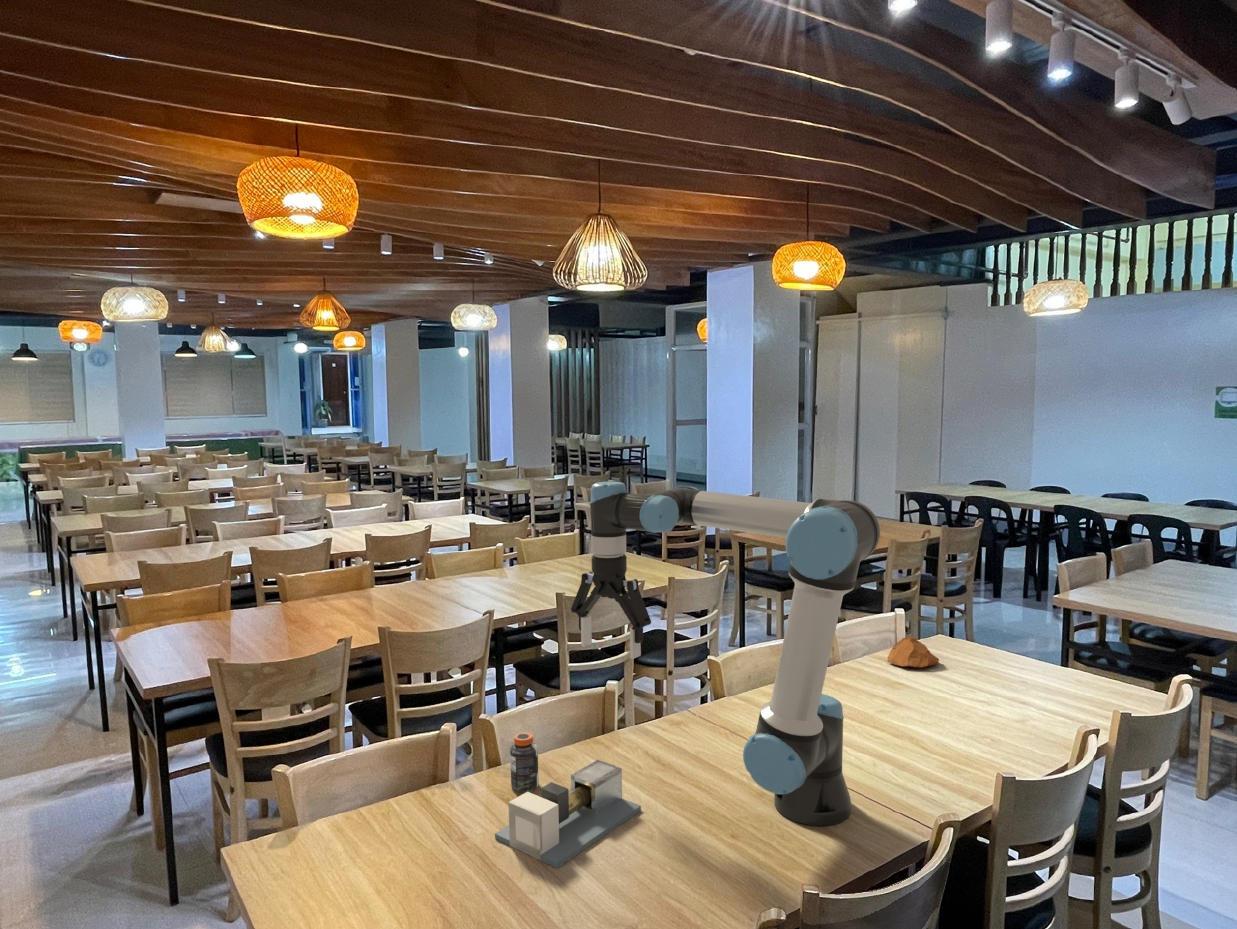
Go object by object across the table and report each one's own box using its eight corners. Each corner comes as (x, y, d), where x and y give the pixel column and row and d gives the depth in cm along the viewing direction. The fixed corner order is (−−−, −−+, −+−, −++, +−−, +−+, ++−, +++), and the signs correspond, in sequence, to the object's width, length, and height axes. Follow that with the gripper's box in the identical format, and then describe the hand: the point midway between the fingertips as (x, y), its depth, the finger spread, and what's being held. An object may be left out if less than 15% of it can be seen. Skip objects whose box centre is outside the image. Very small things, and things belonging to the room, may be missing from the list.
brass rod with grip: (597, 803, 161) (596, 772, 160) (545, 836, 149) (544, 802, 149) (580, 797, 164) (580, 766, 163) (528, 829, 152) (527, 795, 151)
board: (640, 810, 163) (640, 805, 163) (556, 868, 143) (556, 863, 143) (581, 787, 173) (581, 782, 173) (495, 838, 153) (494, 833, 153)
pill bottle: (543, 782, 175) (542, 732, 174) (531, 795, 170) (530, 743, 169) (518, 778, 177) (517, 728, 176) (506, 791, 172) (504, 739, 171)
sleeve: (622, 798, 166) (621, 768, 165) (595, 815, 159) (595, 784, 158) (598, 789, 170) (597, 759, 169) (571, 805, 163) (570, 775, 162)
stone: (897, 679, 241) (883, 647, 243) (889, 674, 255) (876, 644, 258) (945, 662, 240) (931, 630, 242) (934, 658, 254) (921, 628, 256)
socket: (559, 848, 150) (558, 804, 149) (540, 860, 146) (539, 815, 145) (528, 834, 155) (527, 791, 154) (509, 845, 151) (508, 802, 150)
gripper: (666, 558, 167) (667, 657, 169) (576, 545, 183) (578, 636, 184) (645, 564, 161) (646, 667, 163) (554, 550, 177) (556, 644, 179)
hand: (610, 651), depth 174 cm, fingers open, 13 cm apart
